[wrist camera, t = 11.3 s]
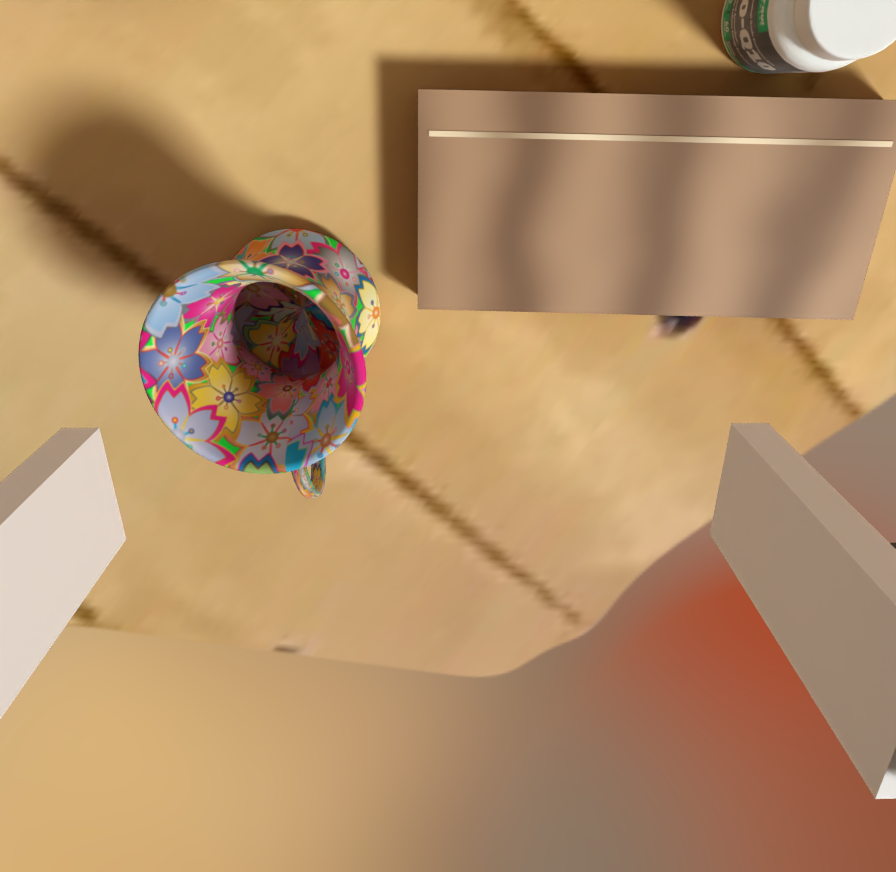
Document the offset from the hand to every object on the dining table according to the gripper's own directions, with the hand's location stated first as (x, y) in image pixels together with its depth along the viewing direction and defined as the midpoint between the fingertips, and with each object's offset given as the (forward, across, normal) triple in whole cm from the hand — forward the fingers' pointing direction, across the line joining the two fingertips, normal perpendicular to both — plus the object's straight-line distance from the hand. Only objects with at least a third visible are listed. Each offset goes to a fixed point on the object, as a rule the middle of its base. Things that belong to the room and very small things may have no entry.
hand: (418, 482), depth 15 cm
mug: (+25, -6, -4) cm, 26 cm away
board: (+24, +11, +2) cm, 26 cm away
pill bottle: (+24, +16, +11) cm, 31 cm away
